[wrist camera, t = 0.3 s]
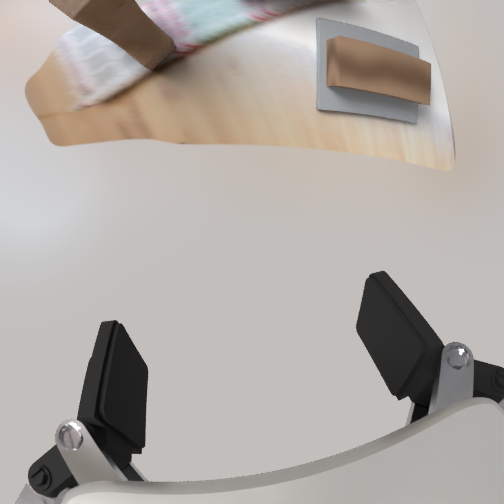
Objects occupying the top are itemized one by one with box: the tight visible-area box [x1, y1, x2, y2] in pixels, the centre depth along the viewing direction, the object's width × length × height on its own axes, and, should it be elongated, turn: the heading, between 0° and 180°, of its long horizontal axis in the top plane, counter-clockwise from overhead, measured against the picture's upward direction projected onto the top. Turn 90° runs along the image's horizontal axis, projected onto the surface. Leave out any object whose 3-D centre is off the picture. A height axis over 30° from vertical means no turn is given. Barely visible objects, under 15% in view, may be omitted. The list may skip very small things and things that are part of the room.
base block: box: [326, 36, 431, 105], centre depth 29 cm, size 7×16×4 cm, turn 90°
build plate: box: [316, 18, 419, 123], centre depth 31 cm, size 14×18×1 cm
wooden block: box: [49, 0, 176, 70], centre depth 17 cm, size 9×4×18 cm, turn 41°
